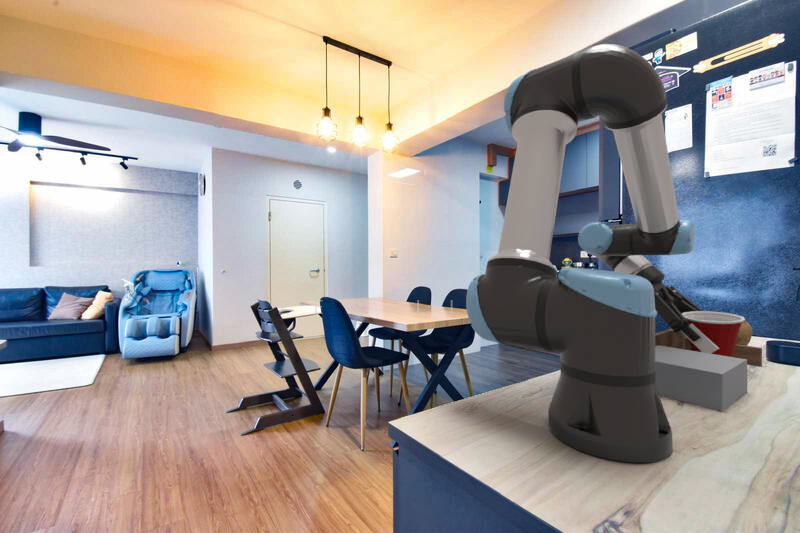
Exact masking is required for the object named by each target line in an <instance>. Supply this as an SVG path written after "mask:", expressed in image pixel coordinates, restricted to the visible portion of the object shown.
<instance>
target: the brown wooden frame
mask: <svg viewBox="0 0 800 533" xmlns="http://www.w3.org/2000/svg"><path fill="white" fill-rule="evenodd" d="M658 345H659V346H665V347H672V348H678V349H684V350H691V347H690V342H689V339H688V338H687V337H686V336H685V335H684V334H683V333H682V332H681V330H680V331H679V332H677V333H675V332H674V331H673V329H672V328H668V329H664V330H661V331H658V332H655V346H658ZM732 357H734V358H741V359H747V365H751V366H754V367H755V366H756V367H762V366H763V348H762V347H759V346H751V345H747V346H745V345H737V344H736V345H735V349H734V354H733V356H732Z"/></svg>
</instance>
